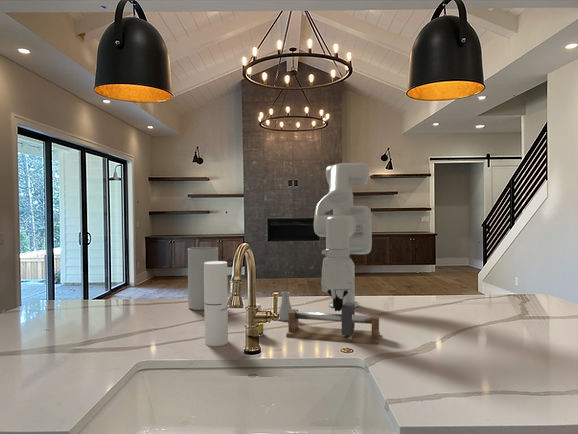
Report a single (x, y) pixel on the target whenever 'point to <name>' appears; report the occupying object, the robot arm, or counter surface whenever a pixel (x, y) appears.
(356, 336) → the pipe stand
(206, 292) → the cylindrical container
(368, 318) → the steel pipe
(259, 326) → the supplement bottle
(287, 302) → the flask
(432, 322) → the counter surface
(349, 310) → the rubber collar
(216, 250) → the cylinder vase
